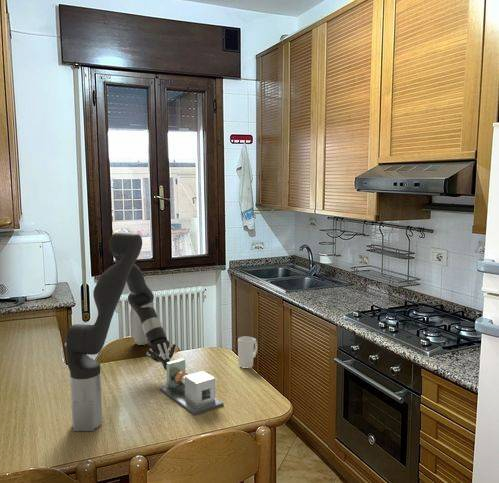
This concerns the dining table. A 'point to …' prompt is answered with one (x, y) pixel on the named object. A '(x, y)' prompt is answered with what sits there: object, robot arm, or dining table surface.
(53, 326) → the dining table surface
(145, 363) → the dining table surface
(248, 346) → the mug
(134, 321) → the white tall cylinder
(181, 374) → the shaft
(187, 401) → the bearing block
